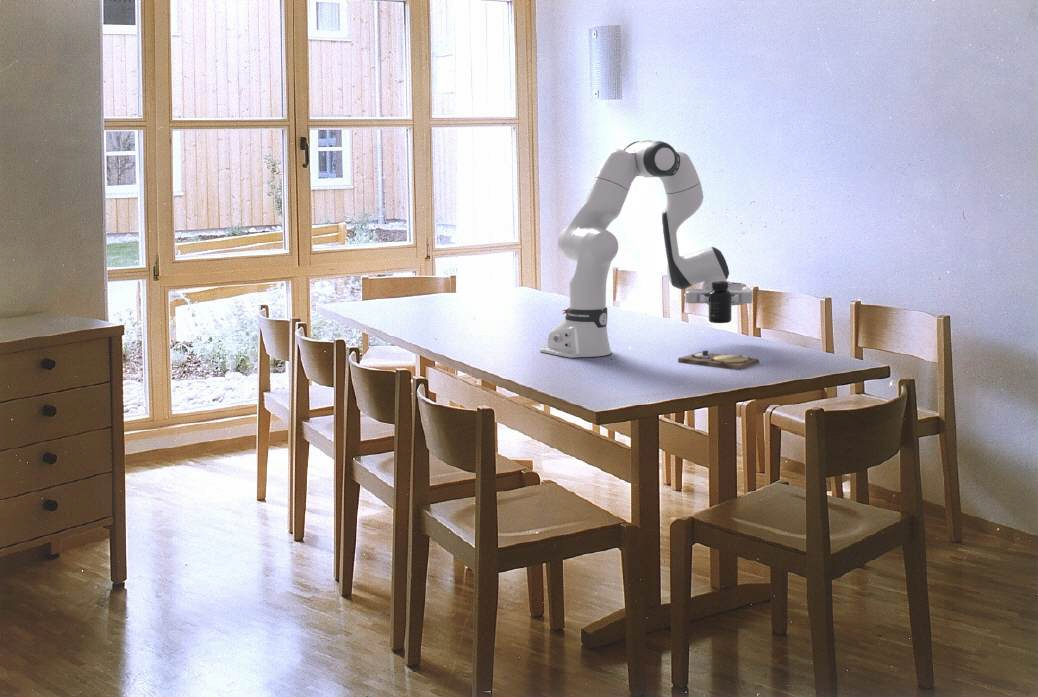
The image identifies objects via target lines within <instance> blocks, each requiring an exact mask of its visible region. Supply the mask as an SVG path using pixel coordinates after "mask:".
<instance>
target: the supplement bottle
mask: <svg viewBox="0 0 1038 697" xmlns="http://www.w3.org/2000/svg"><path fill="white" fill-rule="evenodd" d="M712 289H713V290H712V291H711V292H710V293H709V305H708V322H710V323H714V324H726V323H731V321H732V305H731V292H730V291H728V290H727V289H728V282H725V281H716V282H712Z"/></svg>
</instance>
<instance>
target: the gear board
mask: <svg viewBox="0 0 1038 697" xmlns="http://www.w3.org/2000/svg"><path fill="white" fill-rule="evenodd" d="M677 362H678V363H684V364H692V365H700V366H705V367H706V366H707V367H713V368H722V369H730V370H737V371H738V370H741V369H744V368H748V367H752V366H754V365H757V364H759V363H760V359H759V358H752V357H751V356H745V355H742V354H726V353H725V354H721V353H714V352H709V351H708V350H707V349H706V350H705V349H704V350H702V351H699V352H695V353H691V354H688V355H685V356H681V357H678V358H677Z"/></svg>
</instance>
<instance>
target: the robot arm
mask: <svg viewBox="0 0 1038 697" xmlns="http://www.w3.org/2000/svg"><path fill="white" fill-rule="evenodd" d="M636 177H644V178H659V179H660V180H661V182H662V184H663V188H664V191H665V195H666V199H667V200H666V206H665V208H664V210H663V211H662V213H661V221H662V222H661V223H662V231H663V232H662V233H663V240H664V248H665V253H666V259H667V266H666V267H667V268H666V271H667V278H668V281H669V283H670V284H671V286H672V287H674V288H676V289H679V290H682V291H684V290H686V289H687V288H689V289H687V290H686V291H685V292H684V294H683V296H684V297H685V303H687V304H707V305H708V306H709V293H710V292H711V291H712V290H713V289H712V282H716V281H725V282H728V289H727V290H728V291H730V292H731V306H739V305H740V306H742V305H746V304H748V305H749V304H750V305H751V304H752V303H753V294H754V293H753V291H752V289H751V288H750V287H748V286H747V284H746V283H743V282H732V281H728V278H729V276H730V270H729V266H728V263H727V261H726V258H725V257H724V254H723V253H722V251H721V250H720V249H719V248H716V247H714V246H711V247H710V246H709V247H707V248H703V249H700V250H698V251H696V252H693V253H689V254H686V255H682V256H681V255H680V252H679V245H678V244H679V243H678V237H677V235H678V234H677V232H678V230H679V228H680V226H682V224H683V223H684V222H685V221H687V220H688V219H689V218H691V217H692V216H693V215H694V214H695V213H696V212H697V211H698V210H699V209H700V207H701V205H702V203H703V202H704V191H703V188H702V183H701V181H700V178H699V175H698V172H697V170H696V168H695V165H694V163H693V161H692V159H691V158H690V156H689V155H688V154H687V153H685V152H683V151H676V150H675V148H674V147H673V146H672V145H670V144H669V143H668V142H665V141H661V140H657V141H655V140H641V141H639V140H637V141H634V142H631V143H629V144H628V145H627V146H626V147H624V149H621V148H619V149H612V150H611V151H609V152H608V153H607V155H605V158H604V160H603V161H602V162H601V165H600V166H599V168H598V170H597V172H596V175H595V177H594V179H593V182H592V184H591V187H590V189H589V192H588V194H587V196H586V197H585V200H584V202H583V204H582V206H581V207H580V209H579V210H578V212H577V213H576V214H575V216H574V218H573V219H572V220H571V222H570V223H569V225H567V226H566V227H565V228H564V229H562V230H561V231H560V233H559V235H558V238H557V246H558V249H559V250H560V252H561V253H562V254H563V255H564V256H566V257H567V258H568V259H569V260H573V261H576V266H575V271H574V274H573V277H572V278H571V280H570V281H569V307H568V308H567V309H563V310H562V314H563V315H565V314H566V315H565V317H564V318H565V319H564V320H562V321H561V322H560V323H559V324H558V325H556V326H555V327H554V328H553V329H551V330H550V331H549V334H548V337H547V345H544V346H542V347H540V349H539V350H540V351H539V352H541V353H545V354H550V355H553V356H554V355H555V356H558V357H559V356H560V357H566V358H592V357H593V358H595V357H603V356H608V355H610V354H612V350H611V346H610V342H609V337H608V327H607V325H608V307H607V281H608V280H607V279H608V274H609V271H610V267H611V264H612V262H613V260H614V259H615V257H616V256H617V254H618V251H619V241H618V239H617V237H616V236H615V234H613V233H612V232H611V231H609V230H608V227H609V226H610V224H611V223H612V222H613V221H614V220H615V219H617V218H618V217H619V216H620V214H621V211H622V209H623V206H624V204H625V202H626V199H627V196H628V194H629V191H630V189H631V187H632V183H633V182H634V180H635V178H636ZM700 283H702V286H701V288H691V289H690V287H692V286H694V285H697V284H700Z"/></svg>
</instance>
